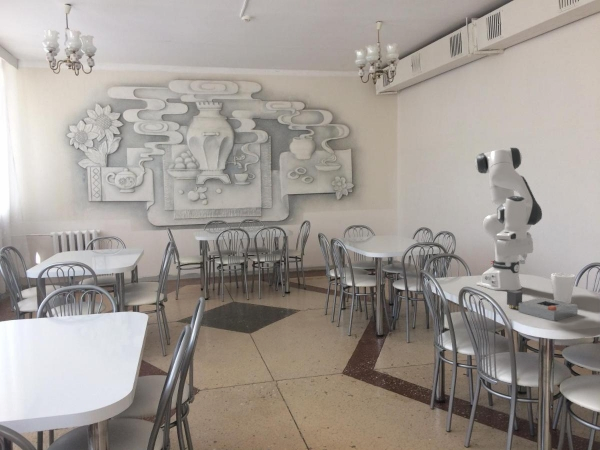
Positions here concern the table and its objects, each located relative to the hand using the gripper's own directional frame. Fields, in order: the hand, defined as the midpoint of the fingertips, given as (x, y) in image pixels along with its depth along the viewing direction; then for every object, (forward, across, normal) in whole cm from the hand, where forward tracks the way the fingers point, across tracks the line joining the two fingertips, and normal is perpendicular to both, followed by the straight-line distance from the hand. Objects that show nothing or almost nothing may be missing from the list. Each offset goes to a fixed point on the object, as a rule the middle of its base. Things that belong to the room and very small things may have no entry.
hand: (515, 265), depth 212 cm
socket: (+19, -4, +13) cm, 23 cm away
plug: (+19, 0, 0) cm, 19 cm away
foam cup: (+20, -24, +7) cm, 32 cm away
